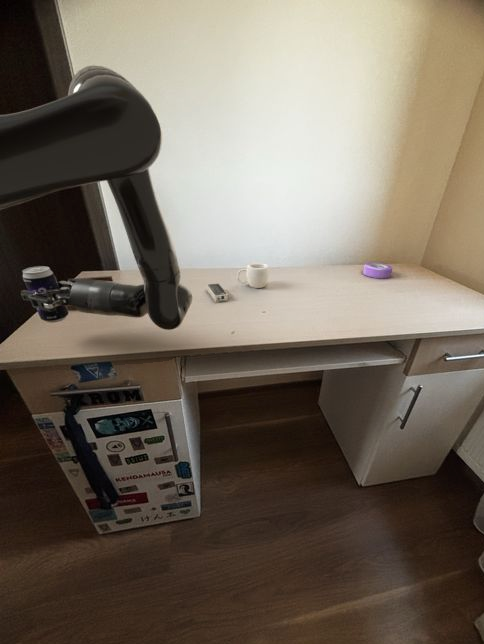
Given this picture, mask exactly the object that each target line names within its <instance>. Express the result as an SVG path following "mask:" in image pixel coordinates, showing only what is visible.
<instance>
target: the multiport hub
mask: <svg viewBox="0 0 484 644" xmlns="http://www.w3.org/2000/svg"><path fill="white" fill-rule="evenodd" d="M206 287H207V288H206V289H207V293H208V294H209V295H210V297H211V298H212V299H213V301H214V302H215V303H221V302H228V300H229V294H228V292H227V291H226V290H225V289H224V287H223V286H221V284H220V283H211V284H210V283H209V284H207V286H206Z"/></svg>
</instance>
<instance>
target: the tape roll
mask: <svg viewBox="0 0 484 644" xmlns="http://www.w3.org/2000/svg"><path fill="white" fill-rule="evenodd" d="M392 272H393V266H391V265H389V264H387V263H383V262H375V261H373V262H372V261H371V262H366V263H364V266H363V270H362V274H363V275H365V276H366V277H369V278H374V279H389V278H390V277H391V275H392Z"/></svg>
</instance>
